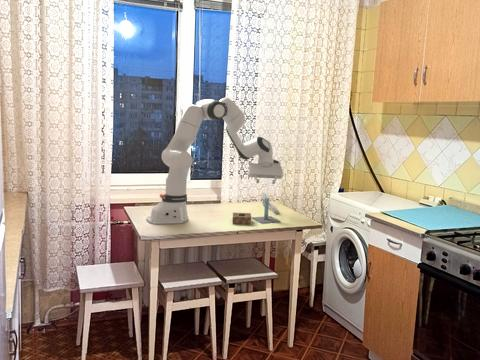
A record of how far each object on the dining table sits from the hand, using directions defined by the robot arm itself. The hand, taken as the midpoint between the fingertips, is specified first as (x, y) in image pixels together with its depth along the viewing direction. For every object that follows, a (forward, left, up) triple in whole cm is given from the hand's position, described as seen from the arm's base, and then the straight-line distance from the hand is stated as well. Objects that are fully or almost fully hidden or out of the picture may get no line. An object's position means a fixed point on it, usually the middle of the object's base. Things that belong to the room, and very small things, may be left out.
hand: (265, 182), depth 269 cm
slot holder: (-20, -11, -19) cm, 30 cm away
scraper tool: (-5, -11, -19) cm, 22 cm away
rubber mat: (-5, -11, -19) cm, 23 cm away
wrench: (+10, +13, -20) cm, 25 cm away
